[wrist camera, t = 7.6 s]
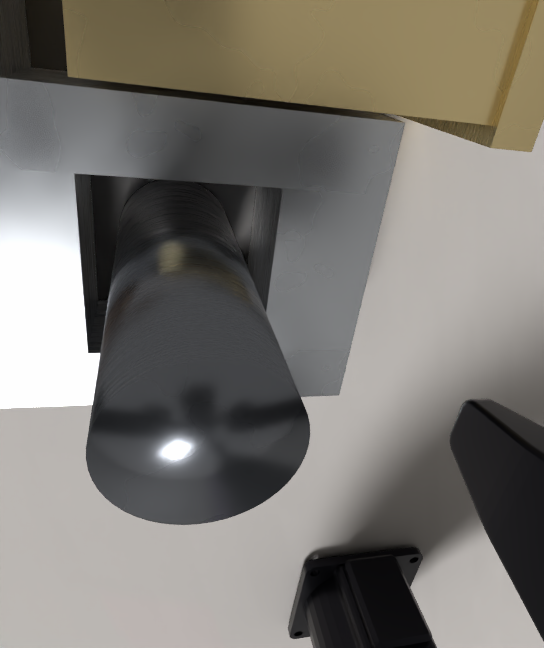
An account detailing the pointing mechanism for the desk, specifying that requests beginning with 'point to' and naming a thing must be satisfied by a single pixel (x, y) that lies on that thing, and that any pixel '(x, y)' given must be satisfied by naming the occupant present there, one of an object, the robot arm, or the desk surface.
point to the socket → (180, 165)
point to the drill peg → (189, 370)
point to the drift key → (331, 56)
